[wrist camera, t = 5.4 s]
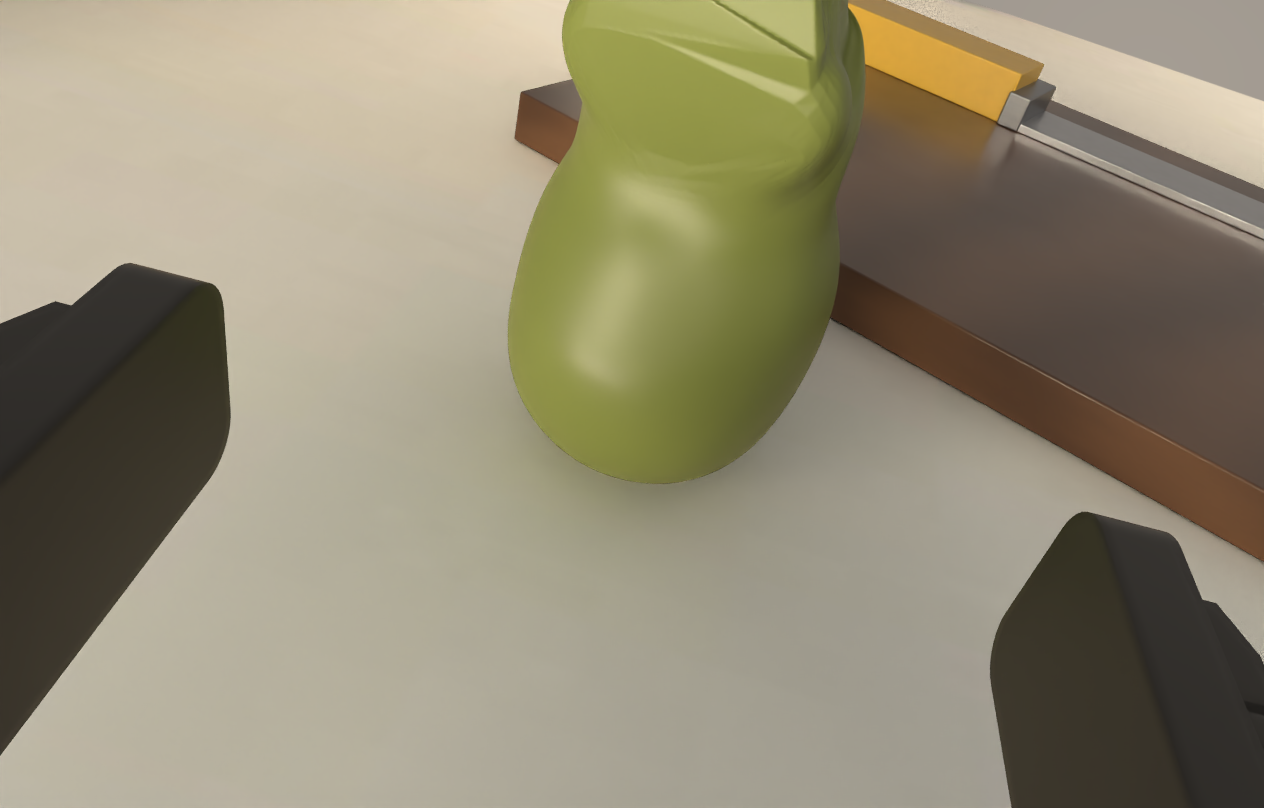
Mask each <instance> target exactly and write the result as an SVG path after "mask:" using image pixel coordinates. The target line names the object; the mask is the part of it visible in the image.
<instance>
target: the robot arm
mask: <svg viewBox="0 0 1264 808" xmlns="http://www.w3.org/2000/svg"><path fill="white" fill-rule="evenodd" d="M230 418H231V413H230V396H229V381H228V366H227V351H226V336H225V322H224V308H223V301H222V297H221V294H220V292H219V290H218V289H217V288H216V286H214V285H213V284H211V283H207V282H203V281H199V280H195V279H192V278H188V277H184V276H180V275H176V274H172V273H168V272H164V271H160V270H157V269H153V268H149V267H145V266H141V265H137V264H133V263H127V264H123V265H121V266H119V267H117V268H116V269H114V270H113V271H112V272H111V273H109V274H108V275H107V276H106V277H105V278H103V279H102V280H101V281H100V282H99V283H97V284H96V285H95V286H94V287H93V288H92V289H90V290H89V291H88V292H87V293H86V294H84V295H83V296H82V297H81V298H80V299H79V300H77V301H76V302H75V303H74V304H73V305H67V304H63V303H59V302H56V301H55V302H53V303H50V304H48V305H45V306H43V307H40V308H38V309H35V310H33V311H30V312H28V313H26V314H23V315H21V316H18V317H16V318H13V319H11V320H8V321H6V322H3V323H1V324H0V755H1V754H2V752H3V751H4V750H5V749H6V747H7V746H8V745H9V743H10V742H11V741H12V739H13V738H14V737H15V735H16V734H17V733H18V731H19V730H20V729H21V727H22V726H23V725H24V723H25V722H26V721H27V719H28V718H29V717H30V716H31V714H32V713H33V712H34V710H35V709H36V708H37V706H38V705H39V704H40V702H41V701H42V700H43V698H44V697H45V696H46V694H47V693H48V692H49V690H50V689H51V688H52V686H53V685H54V684H55V683H56V681H57V680H58V679H59V677H60V676H61V675H62V673H63V672H64V671H65V669H66V668H67V667H68V665H69V664H70V663H71V661H72V660H73V659H74V657H75V656H76V655H77V653H78V652H79V651H80V650H81V648H82V647H83V646H84V644H85V643H86V642H87V640H88V639H89V638H90V636H91V635H92V634H93V632H94V631H95V630H96V628H97V627H98V626H99V624H100V623H101V622H102V620H103V619H104V618H105V617H106V615H107V614H108V613H109V611H110V610H111V609H112V607H113V606H114V605H115V603H116V602H117V601H118V599H119V598H120V597H121V595H122V594H123V593H124V591H125V590H126V589H127V587H128V586H129V585H130V584H131V582H132V581H133V580H134V578H135V577H136V576H137V574H138V573H139V572H140V570H141V569H142V568H143V566H144V565H145V564H146V562H147V561H148V560H149V558H150V557H151V556H152V554H153V553H154V552H155V551H156V549H157V548H158V547H159V545H160V544H161V543H162V541H163V540H164V539H165V537H166V536H167V535H168V533H169V532H170V531H171V529H172V528H173V527H174V525H175V524H176V523H177V521H178V520H179V519H180V518H181V516H182V515H183V514H184V512H185V511H186V510H187V508H188V507H189V506H190V504H191V503H192V502H193V500H194V499H195V498H196V496H197V495H198V494H199V492H200V491H201V490H202V488H203V487H204V486H205V485H206V483H207V482H208V481H209V479H210V478H211V476H212V475H213V473H214V471H215V470H216V468H217V466H218V464H219V462H220V459H221V457H222V454H223V452H224V449H225V446H226V442H227V438H228V434H229V428H230ZM990 679H991V687H992V693H993V699H994V705H995V711H996V717H997V723H998V729H999V735H1000V741H1001V747H1002V753H1003V759H1004V765H1005V771H1006V777H1007V783H1008V789H1009V795H1010V801H1011V807H1012V808H1264V664H1263V662H1262V659H1261V657H1260V655H1259V654H1258V653H1257V652H1256V651H1255V649H1254V648H1253V647H1252V646H1251V645H1250V643H1249V642H1248V641H1247V640H1246V639H1245V637H1244V636H1243V635H1242V634H1241V632H1240V631H1239V630H1238V629H1237V628H1236V626H1235V625H1234V624H1233V623H1232V622H1231V620H1230V619H1229V618H1228V617H1227V616H1226V614H1225V613H1224V612H1223V611H1222V610H1221V608H1220V607H1219V606H1218V605H1217V604H1216V603H1213V602H1209V601H1205V600H1202V598H1201V596H1200V593H1199V591H1198V588H1197V586H1196V583H1195V581H1194V578H1193V576H1192V574H1191V571H1190V569H1189V566H1188V564H1187V561H1186V559H1185V556H1184V554H1183V552H1182V549H1181V547H1180V545H1179V543H1178V541H1177V540H1176V539H1175V538H1174V537H1173V536H1172V535H1171V534H1169V533H1167V532H1164V531H1160V530H1156V529H1152V528H1148V527H1144V526H1141V525H1137V524H1133V523H1129V522H1125V521H1121V520H1117V519H1113V518H1109V517H1106V516H1102V515H1098V514H1094V513H1090V512H1081V513H1078V514H1076V515H1075V516H1073V517H1072V518H1071V519H1070V520H1069V521H1068V522H1067V523H1066V524H1065V526H1064V527H1063V528H1062V530H1061V531H1060V533H1059V534H1058V536H1057V537H1056V539H1055V540H1054V542H1053V543H1052V545H1051V546H1050V548H1049V549H1048V551H1047V552H1046V554H1045V555H1044V556H1043V558H1042V559H1041V561H1040V562H1039V564H1038V565H1037V567H1036V568H1035V570H1034V571H1033V573H1032V574H1031V576H1030V577H1029V579H1028V580H1027V582H1026V583H1025V585H1024V586H1023V588H1022V589H1021V591H1020V592H1019V594H1018V595H1017V597H1016V598H1015V600H1014V601H1013V603H1012V604H1011V606H1010V607H1009V609H1008V610H1007V612H1006V613H1005V615H1004V617H1003V618H1002V620H1001V622H1000V625H999V627H998V630H997V632H996V635H995V639H994V643H993V648H992V653H991V662H990Z"/></svg>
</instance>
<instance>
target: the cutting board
mask: <svg viewBox="0 0 1264 808" xmlns="http://www.w3.org/2000/svg"><path fill="white" fill-rule="evenodd" d="M865 75H866V82H865V100H864V108H863V114H862V120H861V125H860V129H859V133H858V136H857V140H856V143H855V146H854V149H853V152H852V155H851V158H850V161H849V164H848V166H847V169H846V172H845V174H844V177H843V180H842V182H841V185H840V188H839V191H838V194H837V198H836V212H837V221H838V230H839V243H840V267H839V279H838V286H837V292H836V297H835V301H834V305H833V309H832V312H831V316H830V317H831V318H833V319H835V320H836V321H838V322H840V323H842V324H844V325H845V326H847V327H849V328H851V329H852V330H854V331H856V332H858V333H859V334H861V335H863V336H865V337H867V338H868V339H870V340H872V341H874V342H875V343H877V344H879V345H881V346H882V347H884V348H886V349H888V350H890V351H891V352H893V353H895V354H897V355H898V356H900V357H902V358H904V359H905V360H907V361H909V362H911V363H913V364H914V365H916V366H918V367H920V368H921V369H923V370H925V371H927V372H929V373H930V374H932V375H934V376H936V377H937V378H939V379H941V380H943V381H944V382H946V383H948V384H950V385H952V386H953V387H955V388H957V389H959V390H960V391H962V392H964V393H966V394H967V395H969V396H971V397H973V398H975V399H976V400H978V401H980V402H982V403H983V404H985V405H987V406H989V407H990V408H992V409H994V410H996V411H998V412H999V413H1001V414H1003V415H1005V416H1006V417H1008V418H1010V419H1012V420H1013V421H1015V422H1017V423H1019V424H1021V425H1022V426H1024V427H1026V428H1028V429H1029V430H1031V431H1033V432H1035V433H1037V434H1038V435H1040V436H1042V437H1044V438H1045V439H1047V440H1049V441H1051V442H1052V443H1054V444H1056V445H1058V446H1060V447H1061V448H1063V449H1065V450H1067V451H1068V452H1070V453H1072V454H1074V455H1075V456H1077V457H1079V458H1081V459H1083V460H1084V461H1086V462H1088V463H1090V464H1091V465H1093V466H1095V467H1097V468H1098V469H1100V470H1102V471H1104V472H1106V473H1107V474H1109V475H1111V476H1113V477H1114V478H1116V479H1118V480H1120V481H1121V482H1123V483H1125V484H1127V485H1129V486H1130V487H1132V488H1134V489H1136V490H1137V491H1139V492H1141V493H1143V494H1145V495H1146V496H1148V497H1150V498H1152V499H1153V500H1155V501H1157V502H1159V503H1160V504H1162V505H1164V506H1166V507H1168V508H1169V509H1171V510H1173V511H1175V512H1176V513H1178V514H1180V515H1182V516H1183V517H1185V518H1187V519H1189V520H1191V521H1192V522H1194V523H1196V524H1198V525H1199V526H1201V527H1203V528H1205V529H1206V530H1208V531H1210V532H1212V533H1214V534H1215V535H1217V536H1219V537H1221V538H1222V539H1224V540H1226V541H1228V542H1229V543H1231V544H1233V545H1235V546H1237V547H1238V548H1240V549H1242V550H1244V551H1245V552H1247V553H1249V554H1251V555H1253V556H1254V557H1256V558H1258V559H1260V560H1261V561H1263V562H1264V240H1263V239H1261V238H1259V237H1257V236H1254V235H1252V234H1250V233H1247V232H1245V231H1243V230H1241V229H1238V228H1236V227H1234V226H1231V225H1229V224H1227V223H1225V222H1222V221H1220V220H1218V219H1215V218H1213V217H1211V216H1209V215H1206V214H1204V213H1202V212H1199V211H1197V210H1195V209H1193V208H1190V207H1188V206H1186V205H1183V204H1181V203H1179V202H1177V201H1174V200H1172V199H1170V198H1167V197H1165V196H1163V195H1161V194H1158V193H1156V192H1154V191H1151V190H1149V189H1147V188H1145V187H1142V186H1140V185H1138V184H1135V183H1133V182H1131V181H1129V180H1126V179H1124V178H1122V177H1119V176H1117V175H1115V174H1113V173H1110V172H1108V171H1106V170H1103V169H1101V168H1099V167H1097V166H1094V165H1092V164H1090V163H1087V162H1085V161H1083V160H1081V159H1078V158H1076V157H1074V156H1071V155H1069V154H1067V153H1065V152H1062V151H1060V150H1058V149H1055V148H1053V147H1051V146H1049V145H1046V144H1044V143H1042V142H1040V141H1037V140H1035V139H1033V138H1030V137H1028V136H1026V135H1024V134H1021V133H1019V132H1015V131H1013V130H1010V129H1008V128H1006V127H1004V126H1001V125H999V124H997V122H996V121H994V120H992V119H990V118H987V117H985V116H983V115H980V114H978V113H976V112H974V111H971V110H969V109H967V108H964V107H962V106H960V105H958V104H955V103H953V102H951V101H948V100H946V99H944V98H942V97H939V96H937V95H935V94H932V93H930V92H928V91H926V90H923V89H921V88H919V87H916V86H914V85H912V84H910V83H907V82H905V81H903V80H900V79H898V78H896V77H894V76H891V75H889V74H887V73H884V72H882V71H880V70H878V69H875V68H873V67H871V66H868V65H866V64H865ZM582 103H583V102H582V100H581V98H580V96H579V93H578V91H577V89H576V87H575V84H574V82H573V79H571V80H567V81H563V82H559V83H555V84H551V85H547V86H543V87H539V88H534V89H530V90H526V91H522V92H521V94H520V101H519V109H518V116H517V124H516V131H515V139H516V140H518V141H520V142H521V143H523V144H525V145H527V146H528V147H530V148H532V149H534V150H535V151H537V152H539V153H541V154H543V155H544V156H546V157H548V158H550V159H551V160H553V161H555V162H557V163H558V164H560V162H561V161H562V159H563V158H564V156H565V155H566V153H567V152H568V150H569V149H570V147H571V146H572V143H573V141H574V138H575V135H576V132H577V128H578V123H579V118H580V113H581V108H582ZM1045 111H1047V112H1049V113H1051V114H1054V115H1056V116H1058V117H1061V118H1063V119H1066V120H1068V121H1070V122H1073V123H1075V124H1077V125H1080V126H1082V127H1084V128H1087V129H1089V130H1092V131H1094V132H1096V133H1099V134H1101V135H1103V136H1106V137H1108V138H1110V139H1113V140H1115V141H1118V142H1120V143H1122V144H1125V145H1127V146H1129V147H1132V148H1134V149H1136V150H1139V151H1141V152H1144V153H1146V154H1148V155H1151V156H1153V157H1155V158H1158V159H1160V160H1162V161H1165V162H1167V163H1170V164H1172V165H1174V166H1177V167H1179V168H1181V169H1184V170H1186V171H1188V172H1191V173H1193V174H1195V175H1198V176H1200V177H1203V178H1205V179H1207V180H1210V181H1212V182H1214V183H1217V184H1219V185H1221V186H1224V187H1226V188H1229V189H1231V190H1233V191H1236V192H1238V193H1240V194H1243V195H1245V196H1247V197H1250V198H1252V199H1255V200H1257V201H1259V202H1262V203H1264V189H1263V188H1260V187H1258V186H1255V185H1253V184H1251V183H1248V182H1246V181H1243V180H1241V179H1239V178H1236V177H1234V176H1231V175H1229V174H1227V173H1224V172H1222V171H1220V170H1217V169H1215V168H1212V167H1210V166H1208V165H1205V164H1203V163H1200V162H1198V161H1196V160H1193V159H1191V158H1188V157H1186V156H1184V155H1181V154H1179V153H1176V152H1174V151H1172V150H1169V149H1167V148H1164V147H1162V146H1160V145H1157V144H1155V143H1152V142H1150V141H1148V140H1145V139H1143V138H1140V137H1138V136H1136V135H1133V134H1131V133H1129V132H1126V131H1124V130H1121V129H1119V128H1117V127H1114V126H1112V125H1109V124H1107V123H1105V122H1102V121H1100V120H1097V119H1095V118H1093V117H1090V116H1088V115H1085V114H1083V113H1081V112H1078V111H1076V110H1073V109H1071V108H1069V107H1066V106H1064V105H1061V104H1059V103H1057V102H1054V101H1052V100H1050V102H1049V104H1048V106H1047V108H1046V110H1045Z"/></svg>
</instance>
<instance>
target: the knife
mask: <svg viewBox="0 0 1264 808" xmlns="http://www.w3.org/2000/svg"><path fill="white" fill-rule="evenodd" d="M848 8H849V9H850V10H851V11H852V13H854V15H855V17H856V19H857V21H858V23H859V25H860V28H861V31H862V36H863V42H864V52H865V64H866V65H868V66H871V67H873V68H875V69H878V70H880V71H882V72H884V73H887V74H889V75H891V76H894V77H896V78H898V79H900V80H903V81H905V82H907V83H910V84H912V85H914V86H916V87H919V88H921V89H923V90H926V91H928V92H930V93H932V94H935V95H937V96H939V97H942V98H944V99H946V100H948V101H951V102H953V103H955V104H958V105H960V106H962V107H964V108H967V109H969V110H971V111H974V112H976V113H978V114H980V115H983V116H985V117H987V118H990V119H992V120H994V121H996V122H997V124H999V125H1001V126H1004V127H1006V128H1008V129H1010V130H1013V131H1015V132H1019V133H1021V134H1024V135H1026V136H1028V137H1030V138H1033V139H1035V140H1037V141H1040V142H1042V143H1044V144H1046V145H1049V146H1051V147H1053V148H1055V149H1058V150H1060V151H1062V152H1065V153H1067V154H1069V155H1071V156H1074V157H1076V158H1078V159H1081V160H1083V161H1085V162H1087V163H1090V164H1092V165H1094V166H1097V167H1099V168H1101V169H1103V170H1106V171H1108V172H1110V173H1113V174H1115V175H1117V176H1119V177H1122V178H1124V179H1126V180H1129V181H1131V182H1133V183H1135V184H1138V185H1140V186H1142V187H1145V188H1147V189H1149V190H1151V191H1154V192H1156V193H1158V194H1161V195H1163V196H1165V197H1167V198H1170V199H1172V200H1174V201H1177V202H1179V203H1181V204H1183V205H1186V206H1188V207H1190V208H1193V209H1195V210H1197V211H1199V212H1202V213H1204V214H1206V215H1209V216H1211V217H1213V218H1215V219H1218V220H1220V221H1222V222H1225V223H1227V224H1229V225H1231V226H1234V227H1236V228H1238V229H1241V230H1243V231H1245V232H1247V233H1250V234H1252V235H1254V236H1257V237H1259V238H1261V239H1263V240H1264V203H1262V202H1259V201H1257V200H1255V199H1252V198H1250V197H1247V196H1245V195H1243V194H1240V193H1238V192H1236V191H1233V190H1231V189H1229V188H1226V187H1224V186H1221V185H1219V184H1217V183H1214V182H1212V181H1210V180H1207V179H1205V178H1203V177H1200V176H1198V175H1195V174H1193V173H1191V172H1188V171H1186V170H1184V169H1181V168H1179V167H1177V166H1174V165H1172V164H1170V163H1167V162H1165V161H1162V160H1160V159H1158V158H1155V157H1153V156H1151V155H1148V154H1146V153H1144V152H1141V151H1139V150H1136V149H1134V148H1132V147H1129V146H1127V145H1125V144H1122V143H1120V142H1118V141H1115V140H1113V139H1110V138H1108V137H1106V136H1103V135H1101V134H1099V133H1096V132H1094V131H1092V130H1089V129H1087V128H1084V127H1082V126H1080V125H1077V124H1075V123H1073V122H1070V121H1068V120H1066V119H1063V118H1061V117H1058V116H1056V115H1054V114H1051V113H1049V112H1047V111H1045V110H1046V108H1047V106H1048V104H1049V102H1050V100H1051V98H1052V96H1053V94H1054V91H1055V89H1056V87H1055V86H1053V85H1051V84H1049V83H1046V82H1044V81H1041V80H1039V79H1038V77H1039V75H1040V73H1041V71H1042V69H1043V67H1044V64H1043V63H1040V62H1038V61H1035V60H1033V59H1030V58H1028V57H1025V56H1023V55H1020V54H1018V53H1015V52H1013V51H1010V50H1008V49H1005V48H1003V47H1001V46H998V45H996V44H993V43H991V42H988V41H986V40H983V39H981V38H978V37H976V36H973V35H971V34H968V33H966V32H963V31H961V30H958V29H956V28H953V27H951V26H948V25H946V24H944V23H941V22H939V21H936V20H934V19H931V18H929V17H926V16H924V15H921V14H919V13H916V12H914V11H911V10H909V9H906V8H904V7H901V6H899V5H896V4H894V3H891V2H889V1H886V0H848Z"/></svg>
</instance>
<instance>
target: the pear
mask: <svg viewBox="0 0 1264 808" xmlns="http://www.w3.org/2000/svg"><path fill="white" fill-rule="evenodd" d="M562 42H563V50H564V54H565V59H566V63H567V66H568V69H569V72H570V75H571V77H572V79H573V82H574V84H575V87H576V89H577V91H578V93H579V96H580V98H581V100H582V102H583V103H582V108H581V113H580V118H579V123H578V128H577V132H576V135H575V138H574V141H573V143H572V146H571V147H570V149H569V150H568V152H567V153H566V155H565V156H564V158H563V159H562V161H561V162H560V164H559V165H558V167H557V169H556V170H555V172H554V174H553V175H552V177H551V179H550V181H549V183H548V184H547V186H546V188H545V190H544V192H543V195H542V197H541V199H540V201H539V204H538V206H537V208H536V211H535V213H534V216H533V219H532V222H531V224H530V227H529V230H528V233H527V236H526V240H525V243H524V246H523V250H522V254H521V258H520V262H519V266H518V270H517V275H516V279H515V283H514V288H513V293H512V298H511V303H510V310H509V319H508V351H509V359H510V365H511V370H512V374H513V378H514V381H515V384H516V387H517V389H518V392H519V394H520V396H521V399H522V401H523V403H524V404H525V406H526V408H527V410H528V411H529V413H530V415H531V416H532V418H533V419H534V420H535V422H536V423H537V424H538V426H539V427H540V428H541V429H542V431H543V432H544V433H545V434H546V435H547V436H548V437H549V438H550V439H551V440H552V441H553V442H554V443H555V444H556V445H557V446H558V447H559V448H561V449H562V450H563V451H564V452H566V453H567V454H568V455H570V456H571V457H572V458H574V459H575V460H577V461H579V462H580V463H582V464H584V465H586V466H587V467H589V468H591V469H594V470H596V471H598V472H601V473H603V474H606V475H609V476H612V477H615V478H619V479H623V480H627V481H633V482H639V483H650V484H667V483H677V482H683V481H688V480H692V479H696V478H699V477H702V476H705V475H708V474H710V473H713V472H715V471H717V470H719V469H721V468H723V467H725V466H726V465H728V464H730V463H731V462H733V461H734V460H736V459H737V458H739V457H740V456H742V455H743V454H744V453H745V452H747V451H748V450H749V449H750V448H751V447H752V446H754V445H755V444H756V443H757V442H758V441H759V440H760V439H761V438H762V437H763V435H764V434H765V433H766V432H767V431H768V430H769V429H770V427H771V426H772V425H773V424H774V423H775V421H776V420H777V419H778V417H779V416H780V415H781V413H782V412H783V410H784V409H785V408H786V406H787V405H788V403H789V402H790V400H791V398H792V397H793V395H794V394H795V392H796V390H797V389H798V387H799V385H800V384H801V382H802V380H803V378H804V377H805V375H806V373H807V371H808V369H809V367H810V365H811V363H812V361H813V359H814V357H815V355H816V353H817V350H818V348H819V346H820V343H821V341H822V338H823V336H824V333H825V331H826V328H827V325H828V322H829V319H830V316H831V312H832V309H833V305H834V301H835V297H836V292H837V286H838V279H839V267H840V243H839V230H838V221H837V212H836V198H837V194H838V191H839V188H840V185H841V182H842V180H843V177H844V174H845V172H846V169H847V166H848V164H849V161H850V158H851V155H852V152H853V149H854V146H855V143H856V140H857V136H858V133H859V129H860V125H861V120H862V114H863V108H864V100H865V82H866V75H865V52H864V42H863V36H862V31H861V28H860V25H859V23H858V21H857V19H856V17H855V15H854V13H852V11H851V10H850V9H849V8H848V0H570V2H569V4H568V6H567V9H566V12H565V15H564V21H563V27H562Z"/></svg>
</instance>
